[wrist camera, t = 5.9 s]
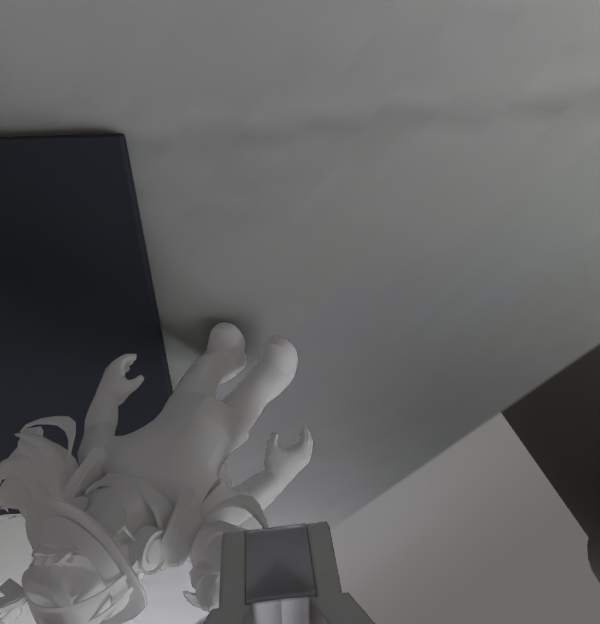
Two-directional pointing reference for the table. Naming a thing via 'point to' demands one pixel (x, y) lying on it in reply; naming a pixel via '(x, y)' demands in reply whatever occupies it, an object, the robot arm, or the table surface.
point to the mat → (73, 286)
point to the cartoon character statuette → (145, 487)
